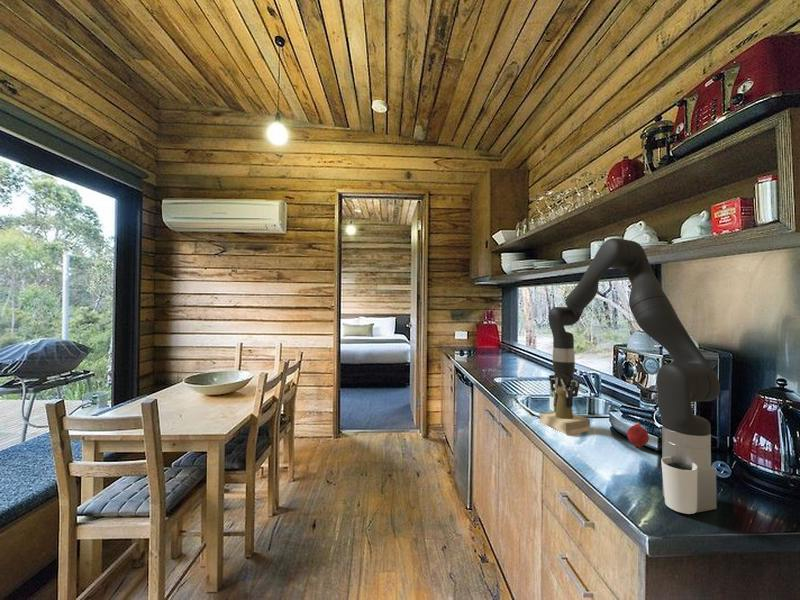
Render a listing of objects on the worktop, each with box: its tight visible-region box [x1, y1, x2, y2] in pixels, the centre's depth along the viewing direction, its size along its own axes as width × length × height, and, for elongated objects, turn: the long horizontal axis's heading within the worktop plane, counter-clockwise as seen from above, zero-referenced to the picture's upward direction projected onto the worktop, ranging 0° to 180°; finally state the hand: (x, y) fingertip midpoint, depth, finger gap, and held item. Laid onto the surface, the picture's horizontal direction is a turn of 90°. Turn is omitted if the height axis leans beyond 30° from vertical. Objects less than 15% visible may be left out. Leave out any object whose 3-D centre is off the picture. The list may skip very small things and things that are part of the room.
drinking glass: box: [660, 457, 698, 515], centre depth 81 cm, size 7×7×10 cm
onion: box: [626, 422, 649, 448], centre depth 114 cm, size 6×6×8 cm
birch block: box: [539, 411, 591, 435], centre depth 132 cm, size 12×12×5 cm
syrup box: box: [549, 384, 557, 412], centre depth 149 cm, size 6×6×14 cm
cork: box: [555, 387, 574, 419], centre depth 132 cm, size 6×6×11 cm
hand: (563, 405), depth 132 cm, fingers closed on cork, 4 cm apart
